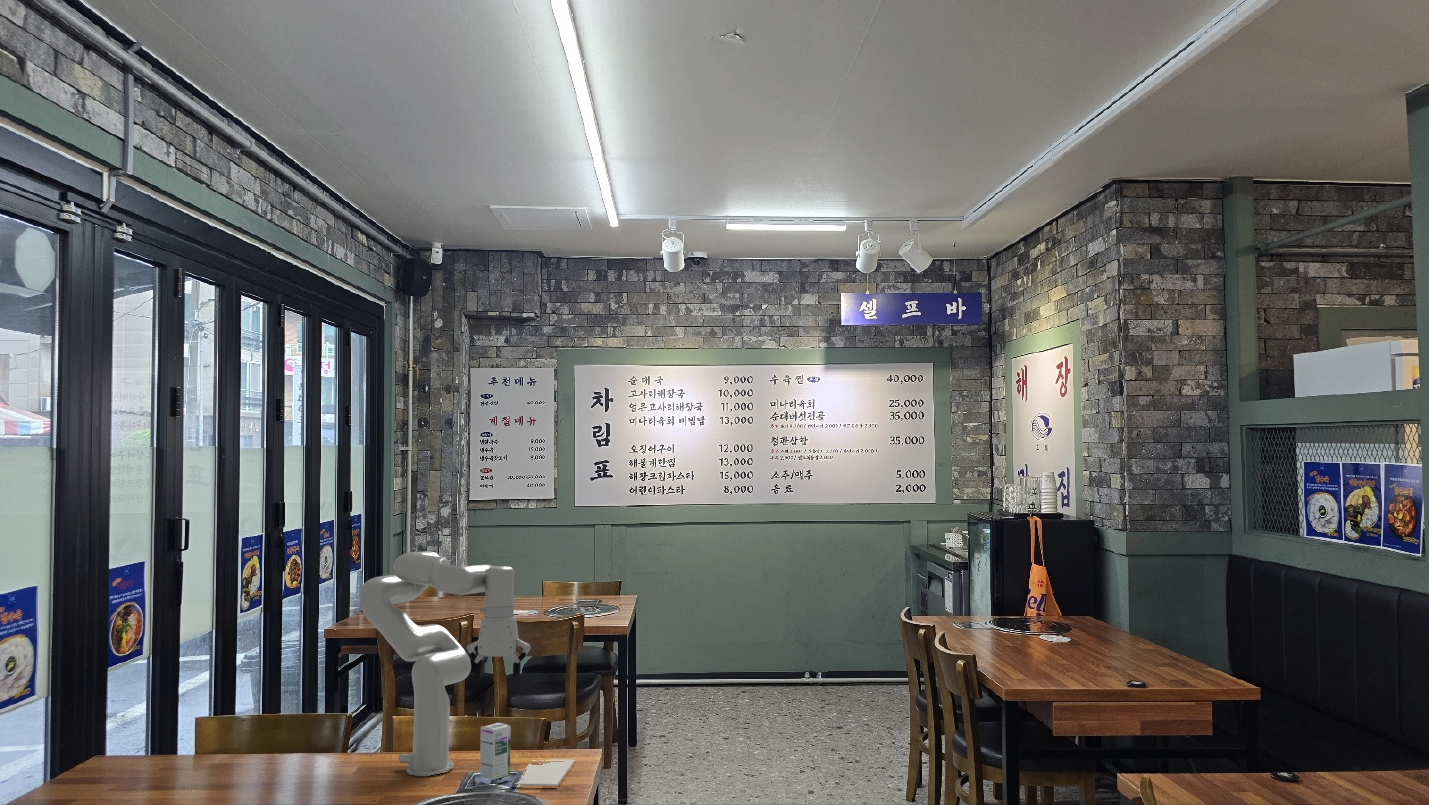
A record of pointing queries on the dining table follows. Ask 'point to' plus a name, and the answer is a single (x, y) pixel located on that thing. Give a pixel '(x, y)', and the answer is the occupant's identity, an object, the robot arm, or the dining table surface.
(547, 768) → the cutting board
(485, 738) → the syrup box
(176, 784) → the dining table surface
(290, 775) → the dining table surface
